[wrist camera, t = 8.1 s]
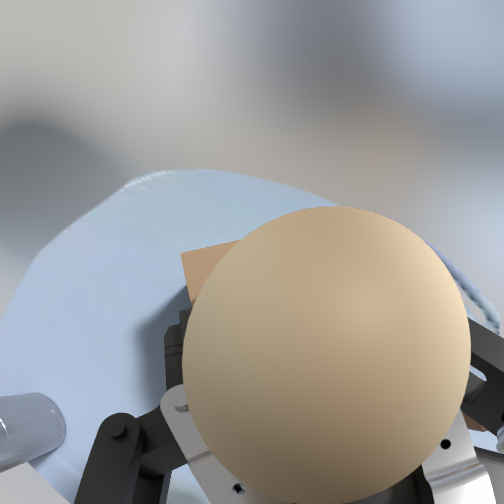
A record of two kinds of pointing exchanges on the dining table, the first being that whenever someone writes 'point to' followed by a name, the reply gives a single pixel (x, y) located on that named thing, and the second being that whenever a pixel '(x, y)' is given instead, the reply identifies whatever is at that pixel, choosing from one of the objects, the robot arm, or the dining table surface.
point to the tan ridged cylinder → (326, 356)
